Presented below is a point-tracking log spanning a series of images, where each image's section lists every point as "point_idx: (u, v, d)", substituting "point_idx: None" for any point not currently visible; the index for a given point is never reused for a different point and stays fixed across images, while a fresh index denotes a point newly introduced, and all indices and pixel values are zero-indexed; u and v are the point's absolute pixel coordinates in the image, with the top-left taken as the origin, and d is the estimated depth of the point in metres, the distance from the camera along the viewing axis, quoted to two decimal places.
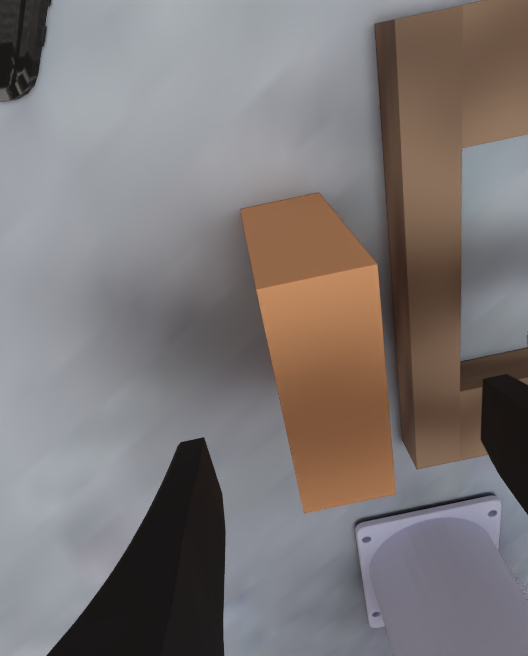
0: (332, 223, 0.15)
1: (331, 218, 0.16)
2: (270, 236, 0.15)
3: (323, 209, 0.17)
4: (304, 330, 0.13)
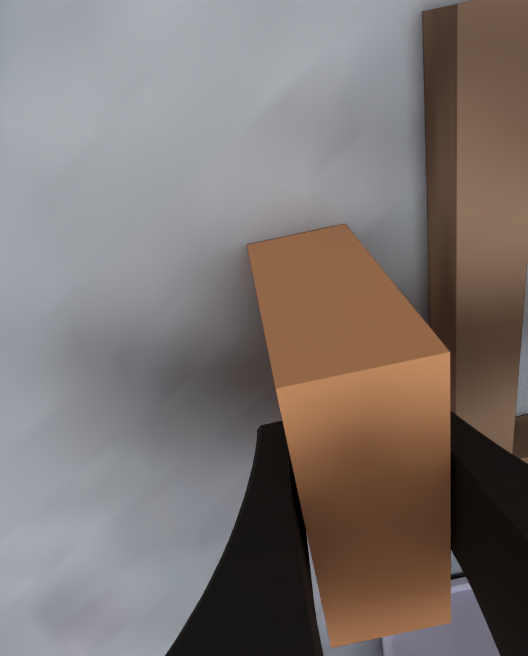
0: (370, 274, 0.12)
1: (367, 265, 0.12)
2: (289, 291, 0.12)
3: (354, 250, 0.13)
4: (342, 437, 0.09)
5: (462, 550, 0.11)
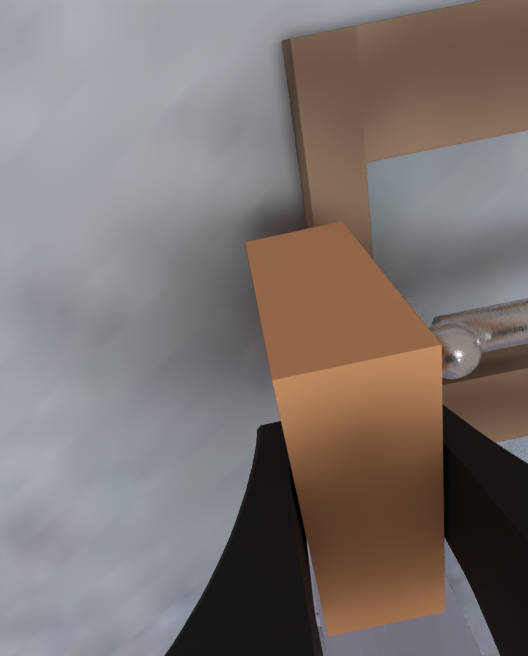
0: (365, 270, 0.12)
1: (363, 261, 0.12)
2: (285, 287, 0.12)
3: (351, 247, 0.13)
4: (337, 429, 0.09)
5: (462, 550, 0.11)
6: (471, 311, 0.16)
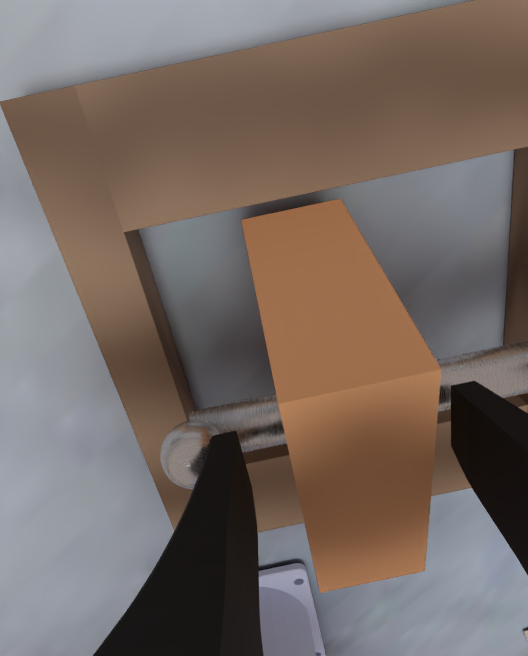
0: (366, 268, 0.12)
1: (363, 255, 0.12)
2: (286, 284, 0.12)
3: (350, 235, 0.13)
4: (337, 440, 0.10)
5: (519, 538, 0.11)
6: (225, 407, 0.14)
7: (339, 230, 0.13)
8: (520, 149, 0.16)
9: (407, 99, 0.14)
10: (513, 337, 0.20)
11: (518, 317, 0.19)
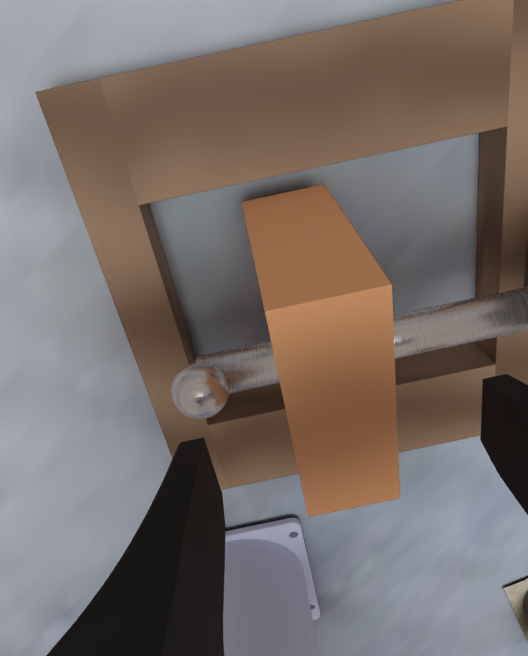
0: (340, 227, 0.15)
1: (339, 219, 0.15)
2: (276, 241, 0.15)
3: (330, 207, 0.16)
4: (314, 349, 0.12)
5: None
6: (226, 352, 0.16)
7: (321, 204, 0.16)
8: (483, 134, 0.19)
9: (381, 89, 0.16)
10: None
11: (486, 285, 0.21)
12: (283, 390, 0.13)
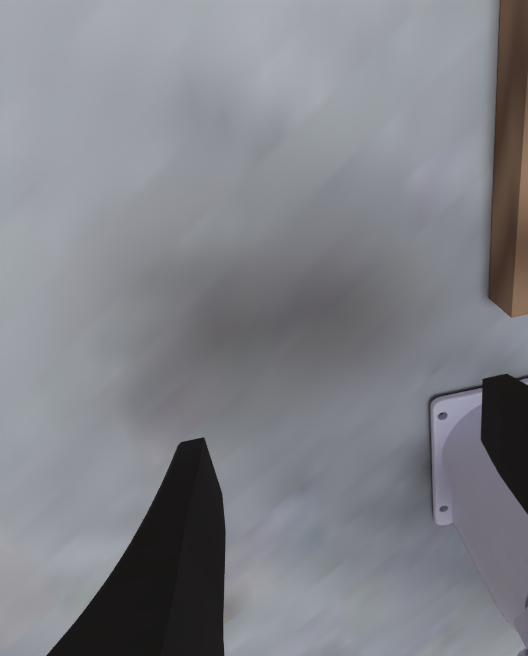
0: None
1: None
2: None
3: None
4: None
5: None
6: None
7: None
8: None
9: None
10: None
11: None
12: None
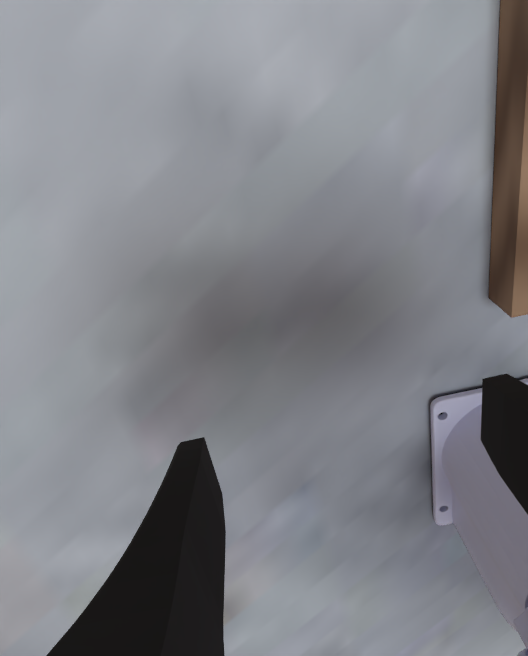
0: None
1: None
2: None
3: None
4: None
5: None
6: None
7: None
8: None
9: None
10: None
11: None
12: None
